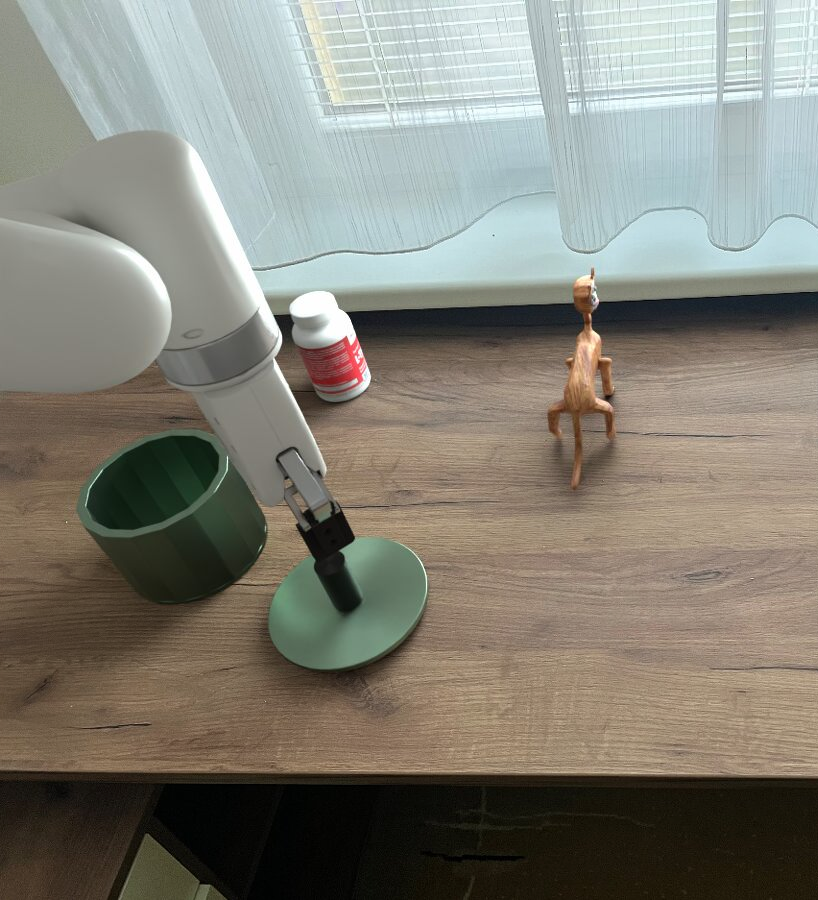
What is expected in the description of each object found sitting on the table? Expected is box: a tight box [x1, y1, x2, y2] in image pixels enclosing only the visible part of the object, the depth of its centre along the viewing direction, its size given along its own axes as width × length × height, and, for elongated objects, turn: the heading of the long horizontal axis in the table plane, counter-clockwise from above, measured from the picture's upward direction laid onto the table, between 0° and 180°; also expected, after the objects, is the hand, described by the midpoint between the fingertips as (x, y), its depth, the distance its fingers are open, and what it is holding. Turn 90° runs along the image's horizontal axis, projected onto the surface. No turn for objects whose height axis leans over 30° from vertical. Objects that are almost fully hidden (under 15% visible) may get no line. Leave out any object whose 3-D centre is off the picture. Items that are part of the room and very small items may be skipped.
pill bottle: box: [288, 290, 371, 403], centre depth 93 cm, size 6×6×11 cm
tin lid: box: [267, 536, 430, 674], centre depth 73 cm, size 14×14×6 cm
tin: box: [75, 429, 268, 606], centre depth 78 cm, size 13×13×10 cm
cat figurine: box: [546, 266, 617, 491], centre depth 83 cm, size 18×7×14 cm, turn 173°
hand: (307, 512), depth 67 cm, fingers open, 9 cm apart
